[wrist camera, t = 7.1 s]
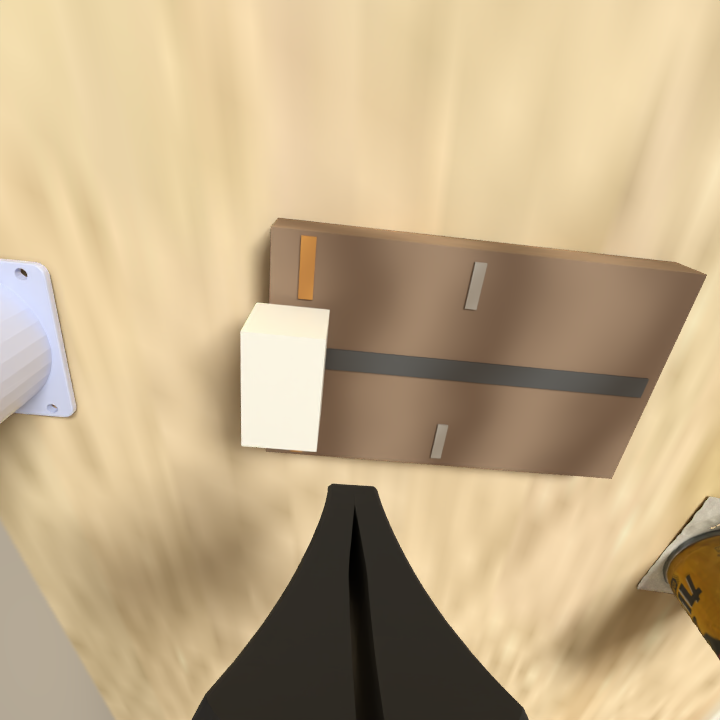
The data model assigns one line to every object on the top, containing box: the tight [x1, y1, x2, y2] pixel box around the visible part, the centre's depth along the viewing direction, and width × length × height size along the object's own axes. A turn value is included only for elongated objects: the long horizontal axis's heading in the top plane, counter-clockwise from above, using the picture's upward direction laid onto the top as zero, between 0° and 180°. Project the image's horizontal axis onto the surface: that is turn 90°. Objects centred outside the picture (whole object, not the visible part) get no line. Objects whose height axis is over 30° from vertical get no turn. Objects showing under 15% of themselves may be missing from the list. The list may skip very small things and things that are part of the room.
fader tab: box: [240, 303, 330, 452], centre depth 18 cm, size 3×5×3 cm, turn 174°
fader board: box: [266, 218, 707, 479], centre depth 21 cm, size 18×11×2 cm, turn 84°
